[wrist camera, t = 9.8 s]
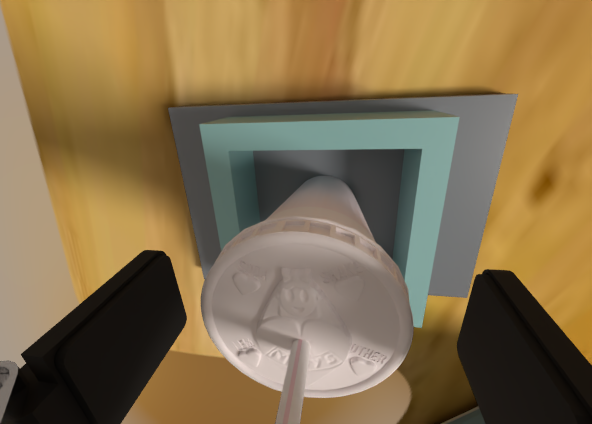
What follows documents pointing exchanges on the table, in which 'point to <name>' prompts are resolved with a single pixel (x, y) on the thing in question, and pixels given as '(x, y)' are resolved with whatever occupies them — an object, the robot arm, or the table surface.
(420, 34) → the table surface
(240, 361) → the smoothie
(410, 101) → the socket holder
